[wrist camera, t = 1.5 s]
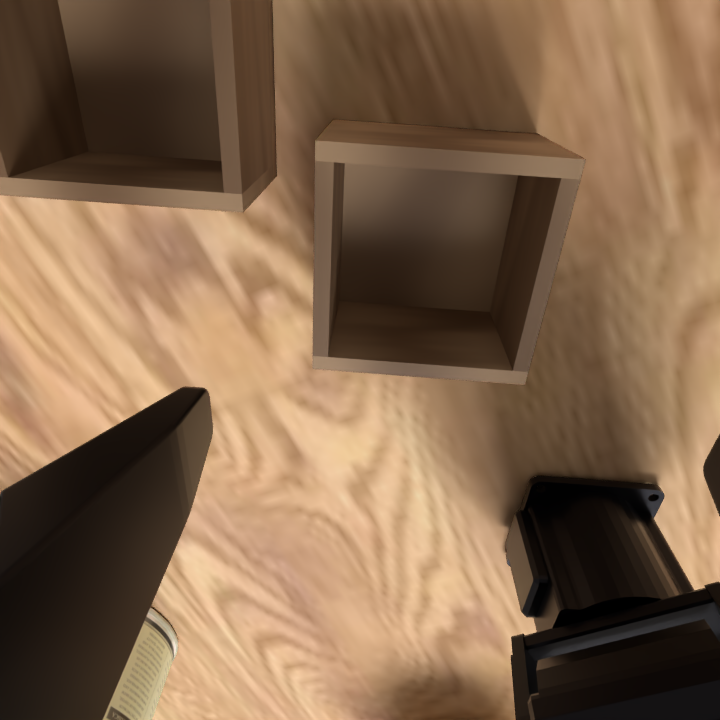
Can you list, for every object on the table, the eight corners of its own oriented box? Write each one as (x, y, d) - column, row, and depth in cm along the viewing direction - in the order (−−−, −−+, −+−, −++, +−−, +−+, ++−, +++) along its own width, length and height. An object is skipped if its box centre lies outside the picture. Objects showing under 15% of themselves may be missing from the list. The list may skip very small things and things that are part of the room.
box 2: (537, 133, 17) (585, 159, 13) (497, 317, 21) (524, 384, 17) (333, 119, 18) (315, 140, 13) (328, 305, 21) (312, 368, 17)
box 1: (270, -73, 15) (223, -124, 11) (276, 176, 19) (242, 212, 14) (33, -89, 15) (-108, -146, 11) (86, 162, 19) (-5, 194, 14)
